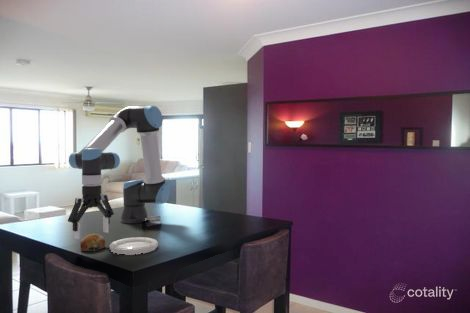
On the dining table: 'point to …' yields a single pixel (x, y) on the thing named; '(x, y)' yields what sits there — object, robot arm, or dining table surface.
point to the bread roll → (92, 242)
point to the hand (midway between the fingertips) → (92, 235)
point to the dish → (133, 245)
